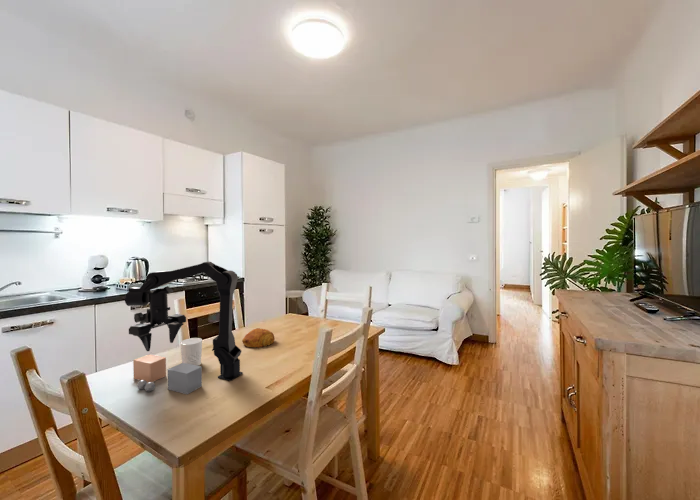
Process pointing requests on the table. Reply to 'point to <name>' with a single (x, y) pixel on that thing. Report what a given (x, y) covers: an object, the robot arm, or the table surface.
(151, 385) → the marble
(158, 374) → the peach rectangular block
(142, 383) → the marble
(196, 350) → the white cup
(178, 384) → the pale grey box
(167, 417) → the table surface
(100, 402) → the table surface
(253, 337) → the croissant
